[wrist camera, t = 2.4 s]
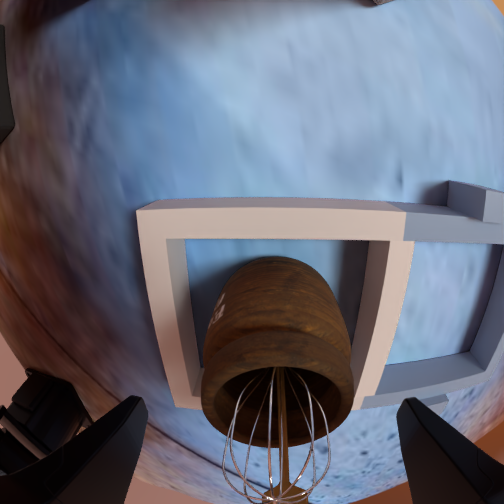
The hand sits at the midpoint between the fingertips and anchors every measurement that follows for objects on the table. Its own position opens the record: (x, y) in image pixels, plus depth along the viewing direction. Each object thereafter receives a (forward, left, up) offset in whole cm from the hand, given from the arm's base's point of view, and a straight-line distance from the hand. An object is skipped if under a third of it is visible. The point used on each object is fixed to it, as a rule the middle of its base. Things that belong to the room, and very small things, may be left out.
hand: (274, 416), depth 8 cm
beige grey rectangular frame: (0, -5, -7) cm, 9 cm away
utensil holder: (0, 0, -7) cm, 7 cm away
